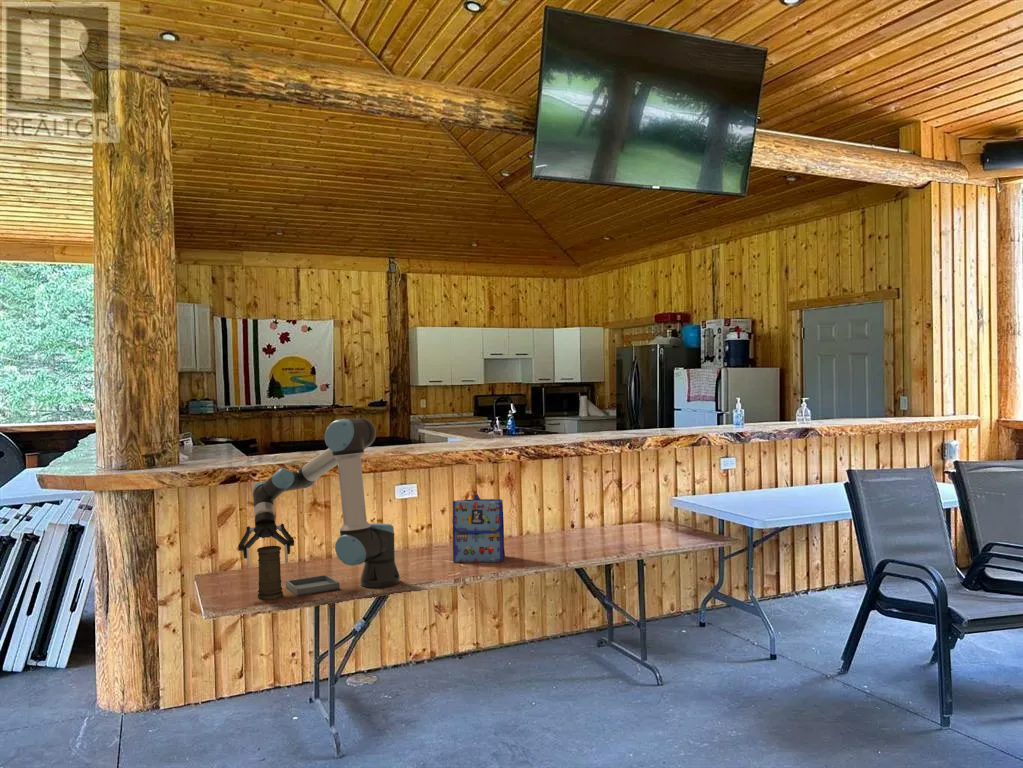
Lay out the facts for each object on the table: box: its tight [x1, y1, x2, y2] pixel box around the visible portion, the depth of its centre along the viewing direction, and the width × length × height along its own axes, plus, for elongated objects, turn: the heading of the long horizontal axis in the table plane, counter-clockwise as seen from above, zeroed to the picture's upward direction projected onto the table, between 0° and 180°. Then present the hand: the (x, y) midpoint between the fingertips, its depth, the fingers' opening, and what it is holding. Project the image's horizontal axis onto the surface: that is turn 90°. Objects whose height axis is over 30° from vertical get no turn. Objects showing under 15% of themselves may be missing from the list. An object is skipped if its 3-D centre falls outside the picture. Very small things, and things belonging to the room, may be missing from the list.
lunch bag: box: [451, 493, 506, 563], centre depth 329 cm, size 22×14×29 cm, turn 86°
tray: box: [285, 574, 341, 597], centre depth 287 cm, size 16×16×2 cm
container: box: [256, 545, 284, 601], centre depth 277 cm, size 9×9×18 cm
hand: (267, 562), depth 279 cm, fingers open, 13 cm apart
